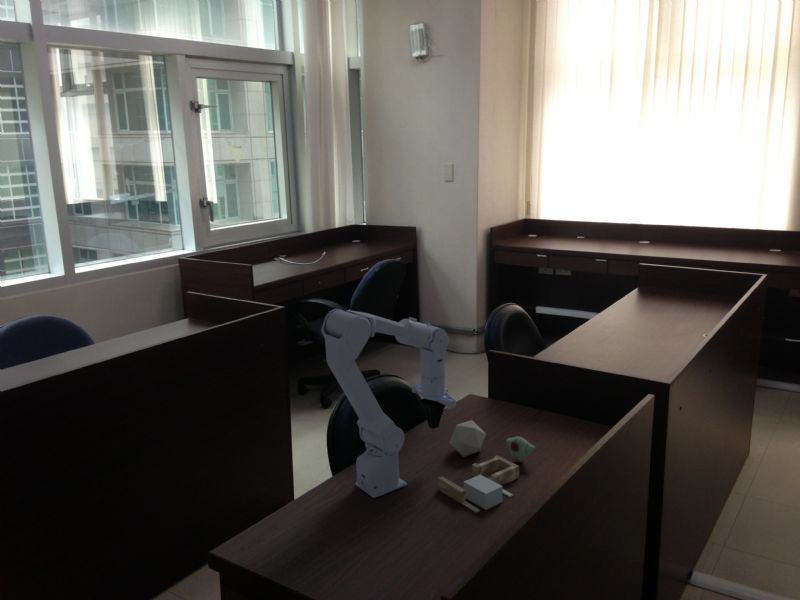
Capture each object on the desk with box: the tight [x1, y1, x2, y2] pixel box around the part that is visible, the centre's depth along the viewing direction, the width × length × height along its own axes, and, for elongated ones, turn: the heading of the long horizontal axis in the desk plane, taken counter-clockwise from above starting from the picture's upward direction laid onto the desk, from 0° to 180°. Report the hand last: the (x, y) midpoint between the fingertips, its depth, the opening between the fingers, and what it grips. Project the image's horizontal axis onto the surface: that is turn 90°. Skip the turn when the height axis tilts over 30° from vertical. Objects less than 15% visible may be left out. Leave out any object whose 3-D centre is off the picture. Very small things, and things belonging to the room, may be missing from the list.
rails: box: [461, 488, 514, 513], centre depth 151 cm, size 11×4×1 cm, turn 126°
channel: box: [437, 454, 520, 505], centre depth 157 cm, size 18×8×3 cm, turn 126°
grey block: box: [463, 475, 504, 511], centre depth 151 cm, size 5×7×4 cm
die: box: [449, 419, 487, 458], centre depth 173 cm, size 8×9×10 cm
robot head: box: [506, 435, 537, 463], centre depth 167 cm, size 8×4×7 cm, turn 46°
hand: (433, 427), depth 167 cm, fingers closed
